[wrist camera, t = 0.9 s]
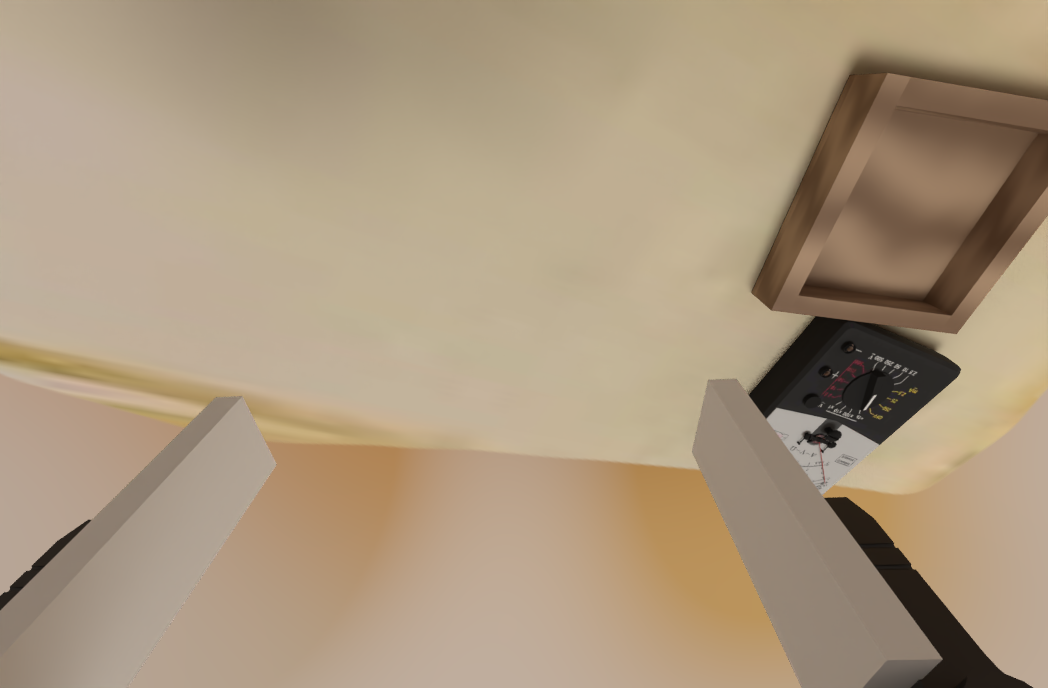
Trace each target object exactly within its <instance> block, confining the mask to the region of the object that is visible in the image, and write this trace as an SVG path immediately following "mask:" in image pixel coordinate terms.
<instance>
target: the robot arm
mask: <svg viewBox="0 0 1048 688" xmlns="http://www.w3.org/2000/svg"><path fill="white" fill-rule="evenodd" d="M692 453H693V455H694V457H695V459H696V461H697V464H698V466H699V468H700V470H701V472H702V474H703V476H704V478H705V481H706V483H707V485H708V487H709V489H710V491H711V494H712V496H713V498H714V500H715V502H716V504H717V507H718V509H719V511H720V513H721V515H722V517H723V520H724V522H725V524H726V526H727V528H728V530H729V532H730V535H731V537H732V538H733V541H734V543H735V545H736V547H737V550H738V552H739V554H740V556H741V558H742V560H743V563H744V565H745V567H746V569H747V571H748V573H749V575H750V577H751V580H752V582H753V584H754V586H755V588H756V590H757V593H758V595H759V597H760V599H761V601H762V603H763V606H764V608H765V610H766V612H767V614H768V616H769V618H770V621H771V623H772V625H773V627H774V629H775V631H776V634H777V636H778V638H779V640H780V642H781V644H782V647H783V649H784V651H785V653H786V655H787V657H788V659H789V662H790V664H791V666H792V668H793V670H794V672H795V675H796V677H797V679H798V681H799V683H800V685H801V687H802V688H1033V687H1031V686H1030V685H1028V684H1027V683H1025V682H1023V681H1021V680H1018V679H1016V678H1013V677H1011V676H1009V675H1006V674H1004V673H1003V672H1002V671H1001V670H999V669H998V668H997V667H996V665H994V663H993V662H992V661H991V660H990V659H989V658H988V657H987V656H986V655H985V654H984V652H983V651H982V650H981V649H980V648H979V646H978V645H977V644H976V643H975V641H974V640H973V639H972V638H971V637H970V635H969V634H968V633H967V632H966V631H965V629H964V628H963V627H962V626H961V624H960V623H959V622H958V621H957V619H956V618H955V617H954V616H953V615H952V614H951V612H950V611H949V610H948V608H947V607H946V606H945V605H944V604H943V602H942V601H941V600H940V599H939V597H938V596H937V595H936V594H935V593H934V591H933V590H932V589H931V588H930V586H929V585H928V584H927V583H926V582H925V580H924V579H923V578H922V577H921V575H920V574H919V573H918V572H917V571H916V570H913V569H912V567H911V563H910V562H909V561H908V560H907V558H906V557H905V556H904V555H903V553H902V552H901V551H900V550H899V549H898V548H895V546H894V543H893V541H892V540H891V539H890V538H889V536H888V535H887V534H886V533H885V531H884V530H883V529H882V528H881V527H880V525H879V524H878V523H877V522H876V520H874V518H873V517H872V516H870V515H869V514H868V513H866V512H865V511H864V510H862V509H861V508H860V507H858V506H857V505H856V504H855V503H853V502H852V501H851V500H849V499H848V498H847V497H838V498H824V497H823V496H822V494H821V493H820V492H819V490H818V489H817V488H816V486H815V485H814V484H813V482H812V481H811V480H810V478H809V477H808V475H807V474H806V473H805V471H804V470H803V469H802V467H801V466H800V465H799V463H798V462H797V461H796V459H795V458H794V456H793V455H792V454H791V452H790V451H789V450H788V448H787V447H786V446H785V444H784V443H783V442H782V440H781V439H780V437H779V436H778V435H777V433H776V432H775V431H774V429H773V428H772V427H771V425H770V424H769V423H768V421H767V420H766V418H765V417H764V416H763V414H762V413H761V412H760V410H759V409H758V408H757V406H756V405H755V404H754V402H753V401H752V399H751V398H750V397H749V395H748V394H747V393H746V391H745V390H744V389H743V387H742V386H741V385H740V383H739V382H738V380H737V379H716V380H708V383H707V388H706V392H705V396H704V401H703V405H702V410H701V414H700V418H699V423H698V427H697V432H696V436H695V440H694V445H693V449H692ZM275 466H276V462H275V460H274V458H273V456H272V454H271V452H270V451H269V448H268V447H267V444H266V442H265V440H264V438H263V436H262V434H261V432H260V430H259V428H258V426H257V424H256V422H255V420H254V418H253V416H252V414H251V412H250V410H249V408H248V406H247V405H246V403H245V401H244V399H243V397H242V396H237V397H216V398H215V399H214V400H213V401H212V402H211V403H210V404H209V405H208V406H207V407H206V408H205V409H204V410H203V411H202V412H201V413H200V414H199V415H198V416H197V417H196V418H194V419H193V420H192V421H191V422H190V423H189V424H188V425H187V426H186V427H185V428H184V429H183V430H182V431H181V432H180V434H178V435H177V436H176V437H175V438H174V439H173V440H172V441H171V442H170V443H169V444H168V445H167V446H166V447H165V448H164V449H163V450H162V451H161V452H160V453H159V454H158V455H157V456H156V457H155V458H154V459H153V460H152V461H151V462H150V463H149V464H148V465H147V466H146V467H145V468H144V469H143V470H142V471H141V472H140V473H139V474H138V475H137V476H136V477H135V478H134V479H133V480H132V481H131V482H130V483H129V484H128V485H127V486H126V487H125V488H124V489H123V490H122V491H121V492H120V493H119V494H118V495H117V496H116V497H115V498H114V499H113V500H112V501H111V502H110V503H109V504H108V505H107V506H106V507H105V508H103V509H102V510H101V511H100V513H98V514H97V516H95V517H94V519H92V520H88V521H86V522H84V523H83V524H81V525H80V526H79V527H77V528H76V529H75V530H73V531H71V532H70V533H68V534H67V535H66V536H64V537H63V538H61V539H60V540H59V541H57V542H56V543H55V544H54V545H53V546H52V547H51V548H50V549H49V550H48V551H47V552H46V553H45V554H44V555H43V556H42V557H40V558H39V559H38V560H37V561H36V562H35V563H34V564H33V565H32V569H31V570H30V571H26V572H25V573H24V574H23V575H22V576H21V577H20V578H19V579H18V580H16V582H14V583H13V584H12V585H11V586H10V590H9V591H8V592H4V593H3V594H2V595H1V596H0V688H128V687H129V685H130V684H131V682H132V681H133V679H134V678H135V676H136V675H137V673H138V672H139V670H140V669H141V667H142V665H143V664H144V663H145V661H146V660H147V658H148V657H149V655H150V654H151V652H152V651H153V649H154V648H155V646H156V645H157V643H158V642H159V640H160V639H161V637H162V636H163V634H164V633H165V631H166V630H167V628H168V627H169V625H170V624H171V622H172V621H173V619H174V618H175V616H176V615H177V613H178V612H179V610H180V609H181V607H182V606H183V604H184V603H185V601H186V600H187V598H188V597H189V595H190V594H191V592H192V591H193V589H194V588H195V586H196V585H197V583H198V582H199V580H200V579H201V577H202V576H203V574H204V573H205V571H206V570H207V568H208V567H209V565H210V564H211V562H212V561H213V559H214V558H215V556H216V554H217V553H218V552H219V550H220V549H221V547H222V546H223V544H224V543H225V541H226V540H227V538H228V537H229V535H230V534H231V532H232V531H233V529H234V528H235V526H236V525H237V523H238V522H239V520H240V519H241V517H242V516H243V514H244V513H245V511H246V510H247V508H248V507H249V505H250V504H251V502H252V501H253V499H254V498H255V496H256V495H257V493H258V492H259V490H260V489H261V487H262V486H263V484H264V483H265V481H266V480H267V478H268V477H269V475H270V474H271V472H272V471H273V469H274V468H275Z"/></svg>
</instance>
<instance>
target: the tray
mask: <svg viewBox="0 0 1048 688" xmlns="http://www.w3.org/2000/svg"><path fill="white" fill-rule="evenodd" d="M1047 216H1048V100H1043V99H1037V98H1031V97H1025V96H1019V95H1013V94H1008V93H1002V92H996V91H990V90H984V89H978V88H973V87H967V86H961V85H955V84H949V83H943V82H938V81H932V80H926V79H920V78H914V77H908V76H903V75H897V74H891V73H879V74H863V75H850V76H849V78H848V81H847V83H846V85H845V87H844V89H843V92H842V94H841V96H840V98H839V100H838V103H837V105H836V107H835V109H834V112H833V114H832V116H831V118H830V120H829V123H828V125H827V127H826V129H825V131H824V134H823V136H822V138H821V140H820V142H819V145H818V147H817V149H816V151H815V154H814V156H813V158H812V160H811V162H810V165H809V167H808V169H807V171H806V173H805V176H804V178H803V180H802V182H801V185H800V187H799V189H798V191H797V193H796V196H795V198H794V200H793V202H792V204H791V207H790V209H789V211H788V213H787V215H786V218H785V220H784V222H783V224H782V227H781V229H780V231H779V233H778V235H777V238H776V240H775V242H774V244H773V246H772V249H771V251H770V253H769V255H768V258H767V260H766V262H765V264H764V266H763V269H762V271H761V273H760V275H759V277H758V280H757V282H756V284H755V286H754V288H753V291H752V294H753V295H754V296H756V297H757V298H758V299H759V300H760V301H761V302H762V303H764V304H765V305H766V306H767V307H768V308H769V309H770V310H772V311H780V312H788V313H796V314H804V315H812V316H819V317H827V318H835V319H843V320H851V321H859V322H866V323H874V324H882V325H890V326H898V327H905V328H913V329H921V330H929V331H937V332H945V333H952V334H957V333H958V331H959V330H960V329H961V327H962V326H963V325H964V324H965V322H966V321H967V320H968V318H969V317H970V316H971V314H972V313H973V312H974V311H975V309H976V308H977V307H978V305H979V304H980V303H981V301H982V300H983V299H984V298H985V296H986V295H987V294H988V292H989V291H990V290H991V288H992V287H993V286H994V285H995V283H996V282H997V281H998V279H999V278H1000V277H1001V275H1002V274H1003V273H1004V272H1005V270H1006V269H1007V268H1008V266H1009V265H1010V264H1011V262H1012V261H1013V260H1014V259H1015V257H1016V256H1017V255H1018V253H1019V252H1020V251H1021V250H1022V248H1023V247H1024V246H1025V244H1026V243H1027V242H1028V240H1029V239H1030V238H1031V237H1032V235H1033V234H1034V233H1035V231H1036V230H1037V229H1038V227H1039V226H1040V225H1041V224H1042V222H1043V221H1044V220H1045V218H1046V217H1047Z"/></svg>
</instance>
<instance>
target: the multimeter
mask: <svg viewBox="0 0 1048 688" xmlns="http://www.w3.org/2000/svg"><path fill="white" fill-rule="evenodd" d="M960 371H961V369H960V367H959V366H958V365H956V364H955V363H954V362H952V361H951V360H950V359H948V358H947V357H945V356H943V355H941V354H939V353H937V352H936V351H934V350H931V349H929V348H927V347H924V346H922V345H920V344H917V343H915V342H913V341H910V340H908V339H906V338H903V337H901V336H899V335H896V334H894V333H892V332H889V331H887V330H885V329H882V328H880V327H878V326H875V325H873V324H871V323H866V322H859V321H851V320H843V319H835V318H827V317H819V316H816V317H815V319H814V320H813V321H812V322H811V323H810V324H809V326H808V327H807V328H806V329H805V330H804V331H803V333H802V334H801V335H800V336H799V337H798V338H797V340H796V341H795V342H794V343H793V344H792V346H791V347H790V348H789V349H788V350H787V351H786V353H785V354H784V355H783V356H782V357H781V358H780V360H779V361H778V362H777V363H776V364H775V365H774V367H773V368H772V369H771V370H770V371H769V372H768V374H767V375H766V376H765V377H764V378H763V379H762V381H761V382H760V383H759V384H758V385H757V386H756V388H755V389H754V390H753V391H752V392H751V393H750V395H749V397H750V398H751V399H752V401H753V402H754V404H755V405H756V406H757V408H758V409H759V410H760V412H761V413H762V414H763V416H764V417H765V418H766V420H767V421H768V423H769V424H770V425H771V427H772V428H773V429H774V431H775V432H776V433H777V435H778V436H779V437H780V439H781V440H782V442H783V443H784V444H785V446H786V447H787V448H788V450H789V451H790V452H791V454H792V455H793V456H794V458H795V459H796V461H797V462H798V463H799V465H800V466H801V467H802V469H803V470H804V471H805V473H806V474H807V475H808V477H809V478H810V480H811V481H812V482H813V484H814V485H815V486H816V488H817V489H818V490H819V492H820V493H821V494H822V495H823V494H824V493H825V492H826V491H827V490H828V489H830V488H831V487H832V486H833V485H834V484H835V483H837V482H838V481H839V480H840V479H841V478H842V477H843V476H845V475H846V474H847V473H848V472H849V471H850V470H851V469H853V468H854V467H855V466H856V465H857V464H858V463H859V462H861V461H862V460H863V459H864V458H865V457H866V456H868V455H869V454H870V453H871V452H872V451H873V450H874V449H876V448H877V447H878V446H879V445H880V444H881V443H882V442H884V441H885V440H886V439H887V438H888V437H889V436H890V435H892V434H893V433H894V432H895V431H896V430H897V429H898V428H900V427H901V426H902V425H903V424H904V423H905V422H906V421H908V420H909V419H910V418H911V417H912V416H913V415H915V414H916V413H917V412H918V411H919V410H920V409H921V408H923V407H924V406H925V405H926V404H927V403H928V402H929V401H931V400H932V399H933V398H934V397H935V396H936V395H937V394H939V393H940V392H941V391H942V390H943V389H944V388H946V387H947V386H948V385H949V384H950V383H951V382H952V381H954V380H955V379H956V378H957V377H958V375H959V374H960Z"/></svg>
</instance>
